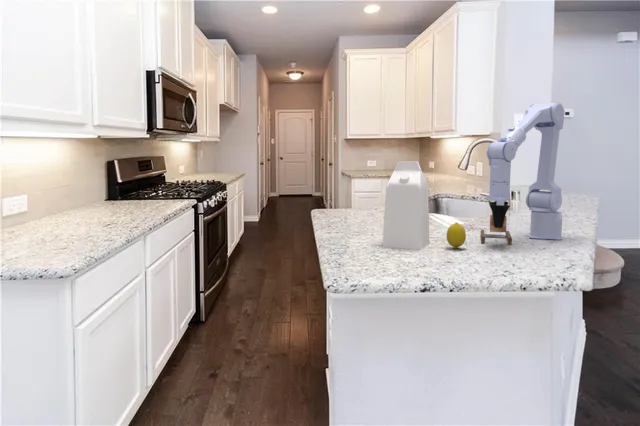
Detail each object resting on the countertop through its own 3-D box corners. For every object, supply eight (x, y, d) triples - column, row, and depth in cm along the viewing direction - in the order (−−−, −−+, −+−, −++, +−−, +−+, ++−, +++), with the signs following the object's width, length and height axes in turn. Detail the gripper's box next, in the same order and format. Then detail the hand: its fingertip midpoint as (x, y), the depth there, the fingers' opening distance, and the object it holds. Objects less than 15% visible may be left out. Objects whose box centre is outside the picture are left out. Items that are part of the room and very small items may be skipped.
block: (505, 229, 149) (505, 215, 149) (506, 232, 145) (506, 217, 145) (489, 229, 151) (490, 215, 150) (490, 231, 147) (490, 217, 146)
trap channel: (508, 235, 165) (508, 230, 165) (511, 244, 150) (512, 238, 150) (480, 234, 168) (480, 229, 167) (481, 243, 153) (481, 236, 153)
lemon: (466, 251, 142) (467, 224, 141) (446, 250, 143) (447, 223, 142) (464, 247, 147) (465, 221, 146) (445, 246, 148) (446, 220, 147)
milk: (429, 243, 154) (431, 161, 150) (420, 250, 144) (423, 162, 140) (392, 240, 159) (394, 160, 155) (382, 246, 149) (383, 161, 145)
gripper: (485, 179, 154) (483, 222, 156) (486, 183, 140) (484, 229, 142) (508, 180, 152) (506, 222, 154) (512, 183, 138) (510, 230, 140)
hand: (497, 226), depth 148 cm, fingers closed on block, 4 cm apart
